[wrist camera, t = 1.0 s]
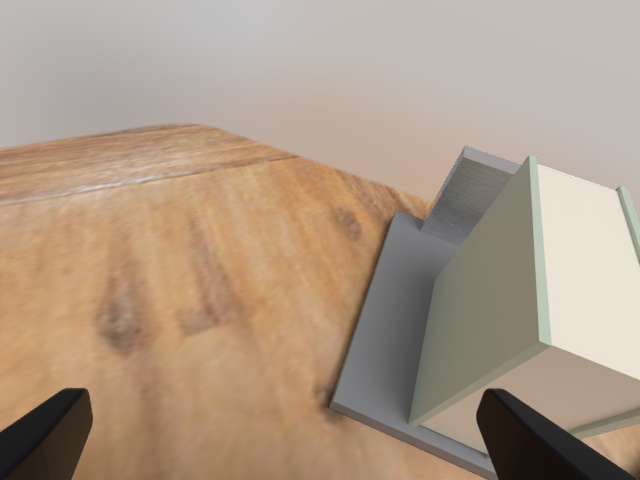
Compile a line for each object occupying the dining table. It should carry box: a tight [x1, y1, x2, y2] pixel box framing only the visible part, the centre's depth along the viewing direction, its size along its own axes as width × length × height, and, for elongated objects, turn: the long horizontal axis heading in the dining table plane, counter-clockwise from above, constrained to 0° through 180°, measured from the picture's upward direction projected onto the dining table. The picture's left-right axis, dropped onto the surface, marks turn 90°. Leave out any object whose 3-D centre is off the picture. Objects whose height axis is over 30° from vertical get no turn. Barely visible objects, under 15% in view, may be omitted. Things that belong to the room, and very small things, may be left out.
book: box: [408, 155, 640, 461], centre depth 19 cm, size 11×5×12 cm, turn 159°
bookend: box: [420, 146, 521, 246], centre depth 27 cm, size 2×9×8 cm, turn 69°
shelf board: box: [329, 210, 498, 480], centre depth 26 cm, size 18×14×2 cm
